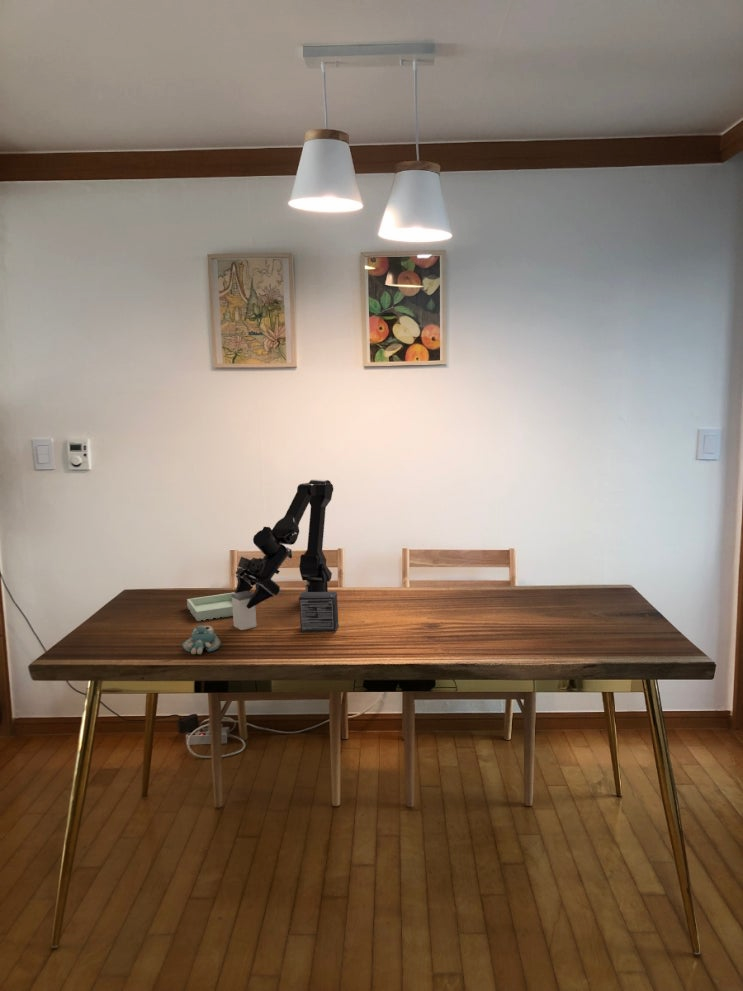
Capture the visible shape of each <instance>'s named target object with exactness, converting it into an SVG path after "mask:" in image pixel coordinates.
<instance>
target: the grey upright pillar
mask: <svg viewBox="0 0 743 991" xmlns="http://www.w3.org/2000/svg"><path fill="white" fill-rule="evenodd" d="M232 593H233V594H232V607H233V616H232V618H233V621H232V622H233V627H234V628H236V629H238V630H240V631H244V630H248V629H252V628H256V627H257V614H256V605H255V606H253V607H252V608H250V609H248V608H247V607H246V606H247V604H248V602H249V601H250V599H251V597H252V596H253V594H254V593H253V592H251V591H243V592H238V593H234V592H232Z"/></svg>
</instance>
